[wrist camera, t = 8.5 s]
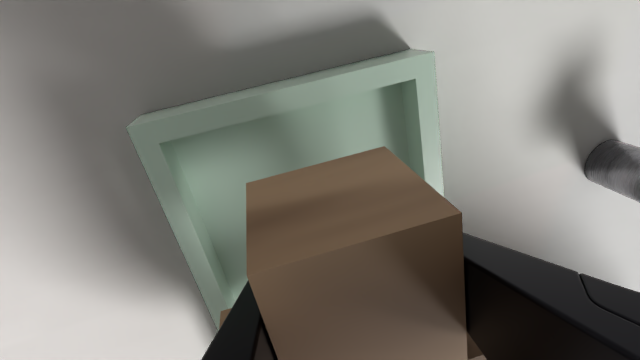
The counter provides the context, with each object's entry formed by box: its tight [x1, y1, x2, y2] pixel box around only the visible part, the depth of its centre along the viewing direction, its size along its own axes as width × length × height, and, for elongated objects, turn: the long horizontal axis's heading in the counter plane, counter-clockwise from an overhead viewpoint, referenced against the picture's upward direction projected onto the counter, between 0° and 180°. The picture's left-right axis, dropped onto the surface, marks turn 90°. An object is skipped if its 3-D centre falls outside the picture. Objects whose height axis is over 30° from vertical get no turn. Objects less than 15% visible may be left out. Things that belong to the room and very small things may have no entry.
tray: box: [126, 49, 444, 330], centre depth 17 cm, size 15×11×2 cm
